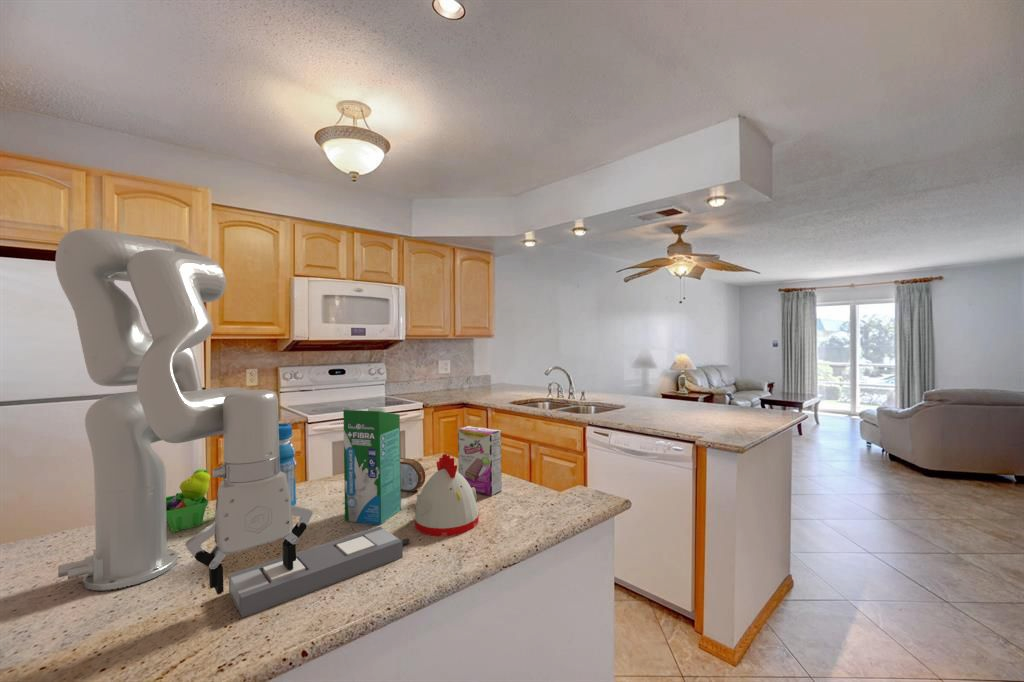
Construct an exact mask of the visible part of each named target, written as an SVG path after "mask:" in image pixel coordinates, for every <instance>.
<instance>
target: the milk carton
mask: <svg viewBox="0 0 1024 682" xmlns="http://www.w3.org/2000/svg"><path fill="white" fill-rule="evenodd" d="M342 413H343V415H342V417H343V470H344V471H343V473H344V474H343V476H344V479H343V481H344V482H343V483H344V521H345V522H350V523H351V522H352V523H360V524H369V525H370V524H371V525H378V526H381V525H382V524H383V523H384V522H386V521H388V520H389V519H390V518H391V517H393V516H394V515H395V514H397V513H398V512H399V511H401V510H402V503H401V502H402V498H401V497H402V496H401V495H402V491H401V478H400V458H401V430H400V429H401V427H400V426H401V420H400V418H401V417H400V416H401V415H400V414H398V413H391V412H387V411H386V407H381V406H379V407H378V406H377V407H376V406H368V408H367V410H360V409H359V410H357V409H343V412H342Z"/></svg>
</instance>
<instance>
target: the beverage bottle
mask: <svg viewBox="0 0 1024 682" xmlns="http://www.w3.org/2000/svg"><path fill="white" fill-rule="evenodd" d="M292 436H293V427H292V424H290V423H279V460H280V471H281V472H283V473H285V474H286V478H287V482H288V487H289V493H290V501H291V505H293V506H297V497H296V496H297V495H296V493H297V490H296V489H297V487H296V486H297V485H296V479H297V477H296V469H297V468H296V467H297V459H296V458H295V455H296V453H297V452H296V449H295V446H294V444H293V443H292V441H290V440H291V439H292V438H293V437H292Z"/></svg>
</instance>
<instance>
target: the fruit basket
mask: <svg viewBox="0 0 1024 682" xmlns="http://www.w3.org/2000/svg"><path fill="white" fill-rule="evenodd" d="M208 472H209V471H208V470H207V469H204V468H199V469H196V470H195V471H194V472H193V474H192V475H191V476H190V477H187V478H186V479H184V480H183V481H182V482H181V483H180V485H179V490H180V491H181V492H176V493H175V495H170V496H166V523H167V524H168V525H169V527H170V529H171V531H172V532H173V533H174V532H177V531H182V530H186V529H190V528H193V527H198V526H202V523H203V520H204V517H205V513H206V508H207V506H208V504H209V500H208V499H207V498H206V497H205V495H206V494H207V493H208V491H209V487H210V480H211V475H210V474H209V473H208Z"/></svg>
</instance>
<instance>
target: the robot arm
mask: <svg viewBox="0 0 1024 682" xmlns="http://www.w3.org/2000/svg"><path fill="white" fill-rule="evenodd" d="M54 260H55V271H56V275H57V276H56V277H57V279H58V282H59V284H60V286H61V288H62V290H63V292H64V294H65V296H66V298H67V299H68V302H69V304H70V306H71V309H72V311H73V312H74V315H75V319H76V324H77V330H78V333H79V334H78V335H79V339H80V343H81V344H80V345H81V349H82V354H83V358H84V362H85V368H86V370H87V374H88V376H89V378H90V379H91V380H92V382H93V383H95V384H96V385H99V386H102V387H126V386H127V387H128V386H136V391H128V392H127V391H126V392H119V393H114V394H110V395H107V396H105V397H102V398H100V399H98V400H96V401H95V402H93V404H91V405H90V407H89V408H88V409H87V411H86V414H85V418H84V425H85V431H86V434H87V439H88V442H89V446H90V449H91V450H90V451H91V455H92V462H93V476H94V478H93V481H94V482H93V484H94V488H93V489H94V520H95V521H94V525H95V526H94V527H95V529H94V530H95V531H94V532H95V535H94V537H95V549H93V551H92V553H93V554H92V555H88V556H85V557H84V559H82V560H77V561H71V562H67V563H62V564H59V565H58V566H57V567H58V568H57V574H58V575H57V576H58V577H57V578H63V577H66V576H67V580H70V579H74V578H78V577H81V576H83V579H82V580H83V582H82V583H83V587H85V588H86V589H87V590H90V589H91V591H112V590H111V589H113V590H117V588H119V589H123V588H122V587H124V588H127V587H126V586H128V587H132V586H135V585H140V584H142V583H144V582H148V581H149V580H152V579H154V578H157V577H159V576H160V575H163V574H164V573H166V572H167V571H169V570H170V569H172V568H173V567H174V566H175V565H176V564H177V562H178V560H179V559H178V557H179V556H178V552H177V551H176V550H175V549H172V548H168V545H167V544H168V543H167V541H168V536H167V532H168V531H167V527H168V526H167V520H166V497H167V483H166V482H167V480H166V479H167V475H166V474H167V472H166V465H165V462H164V460H163V459H162V457H161V455H159V454H158V453H157V452H156V451H155V449H153V448H152V446H151V444H153V443H157V442H160V441H161V442H162V441H163V442H166V443H171V444H181V443H187V442H191V441H197V440H201V439H206V438H209V437H213V436H214V437H215V436H219V435H222V436H223V439H222V440H223V461H222V464H221V466H218V467H217V468H212V477H213V479H215V478H219V479H221V478H222V479H223V480H222V481H220V482H219V484H218V485H219V486H218V489H217V495H216V501H215V512H214V521H213V522H212V523H211V524H210V525H208V526H207V527H205V528H204V529H202V530H200V531H199V532H198V533H196V534H194V536H192V537H191V538H189V539H188V540H187V541H185V547H186V549H187V550H188V551H189V553H190V554H191V555H192V556H193V557H194V559H195V561H197V562H198V563H201V564H202V565H204V566H206V567H208V577H209V578H208V579H209V588H210V590H211V589H214V590H215V592H216V595H218V596H219V595H221V594H223V593H224V590H225V589H224V567H223V565H222V561H223V560H224V558H225V557H226V556H227V555H228V554H233V553H239V552H242V551H246V550H249V549H253V548H256V547H259V546H262V545H266V544H269V543H273V542H276V541H279V540H282V539H284V540H283V541H282V557H283V565H284V566H285V567H286V568H287V570H292V569H293V561H296V553H297V544H298V542H299V541H300V538H301V536H302V535H303V533H304V532H305V531H306V530H307V527H308V524H309V522H310V521H311V518H312V515H313V511H312V510H311V509H309V508H306V507H303V506H302V507H301V506H297V505H296V506H293V505H291V501H290V493H289V487H288V482H287V478H286V474H285V473H283V472H281V471H280V460H279V424H280V423H279V398H278V395H277V394H276V392H275V391H272V390H269V389H246V388H242V387H238V386H237V387H235V386H229V387H226V386H225V387H217V388H207V389H203V386H202V381H201V377H200V373H199V368H198V364H197V363H198V362H197V359H196V356H195V354H194V353H195V352H194V351H193V349H192V348H193V347H195V346H197V345H200V344H201V343H203V342H205V341H206V340H208V339H209V337H211V335H212V334H213V332H214V324H213V322H212V320H211V317H210V314H209V313H208V310H207V308H206V306H205V303H214V302H216V301H217V300H220V299H221V298H222V297H223V295H224V294H225V292H226V288H227V278H226V274H225V272H224V269H222V267H221V266H220V264H219V263H218V262H217V261H215V260H214V259H213V258H211V257H209V256H206V255H203V254H202V253H201V254H200V253H199V252H196V251H193V250H191V249H188V248H187V247H183V246H181V245H178V244H175V243H174V242H173V243H172V242H169V241H164V240H159V239H153V238H150V237H149V238H148V237H144V236H139V235H134V234H129V233H124V232H118V231H112V230H107V229H99V228H97V229H96V228H82V229H81V228H80V229H75V230H72V231H69V232H67V233H66V234H65V235H64V236H63V237H62V238H61V239H60V241H59V242H58V245H57V248H56V252H55V259H54ZM115 281H122V282H129V283H130V285H131V287H132V290H133V293H134V295H135V298H136V301H137V303H138V305H139V306H138V307H139V308H140V310H141V312H142V316H143V319H144V321H145V324H146V326H147V328H148V331H149V333H148V332H146V331H145V330H144V327H143V325H142V320H141V315H140V312H139V309H138V307H137V305H136V303H135V302H134V301H133V300H132V299H131V298H130V297H129V295H128V294H127V293H126V292H125V291H124V290H122V288H120V287H119V286H118V285H117V284H116V283H115ZM293 516H297V517H299V520H298V522H297V523H295V525H293V524H294V523H293ZM293 526H294V527H293ZM213 536H214V542H215V546H214V547H213V548H212V549H211V551H210V552H209V551H206V550H204V549H203V548H202V547H201V546H202V544H203V543H205V542H206V541H208V540H209V539H210V538H212V537H213ZM131 585H132V586H131Z"/></svg>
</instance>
